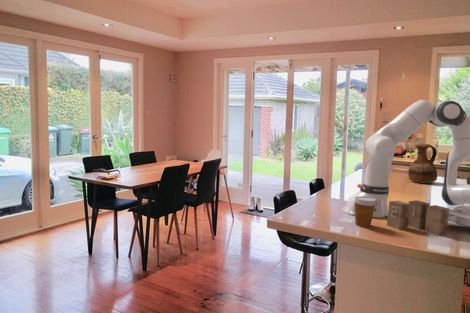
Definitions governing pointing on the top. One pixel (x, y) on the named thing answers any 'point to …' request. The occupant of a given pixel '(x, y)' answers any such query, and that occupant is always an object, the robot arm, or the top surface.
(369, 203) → the disposable coffee cup
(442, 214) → the plain walnut block
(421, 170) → the ceramic pitcher
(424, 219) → the walnut block numbered 1
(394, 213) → the walnut block numbered 2
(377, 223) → the top surface
